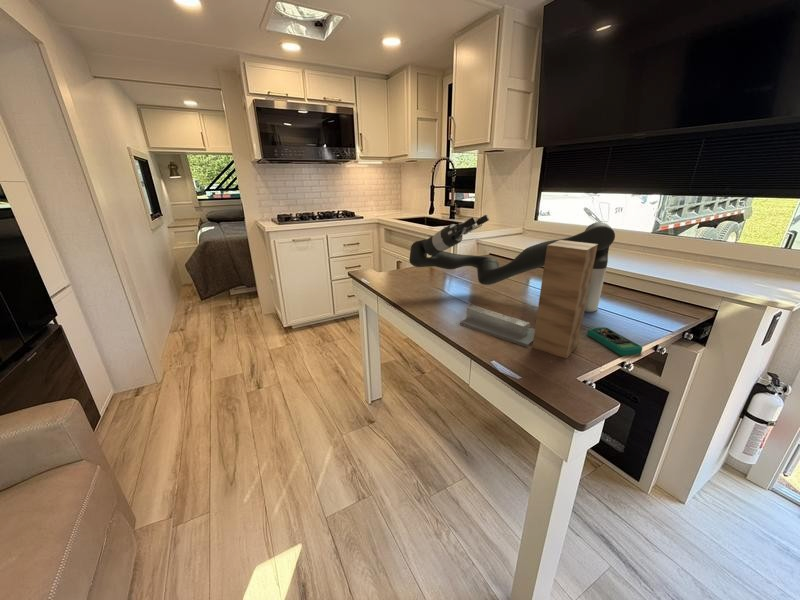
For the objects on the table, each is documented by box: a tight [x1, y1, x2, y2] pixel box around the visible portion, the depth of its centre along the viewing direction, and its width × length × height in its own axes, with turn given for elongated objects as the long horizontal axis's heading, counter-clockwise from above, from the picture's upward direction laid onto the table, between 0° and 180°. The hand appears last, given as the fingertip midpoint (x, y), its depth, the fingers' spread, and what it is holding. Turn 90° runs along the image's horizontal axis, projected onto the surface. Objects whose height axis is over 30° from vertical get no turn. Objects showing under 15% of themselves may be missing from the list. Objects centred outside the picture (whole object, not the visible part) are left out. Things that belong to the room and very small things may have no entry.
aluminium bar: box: [465, 304, 531, 338], centre depth 113 cm, size 4×22×4 cm, turn 43°
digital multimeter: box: [586, 326, 643, 357], centre depth 102 cm, size 7×15×3 cm, turn 11°
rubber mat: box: [459, 317, 535, 348], centre depth 113 cm, size 12×25×1 cm, turn 46°
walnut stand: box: [531, 240, 598, 359], centre depth 95 cm, size 10×10×32 cm
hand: (481, 218), depth 111 cm, fingers open, 8 cm apart
